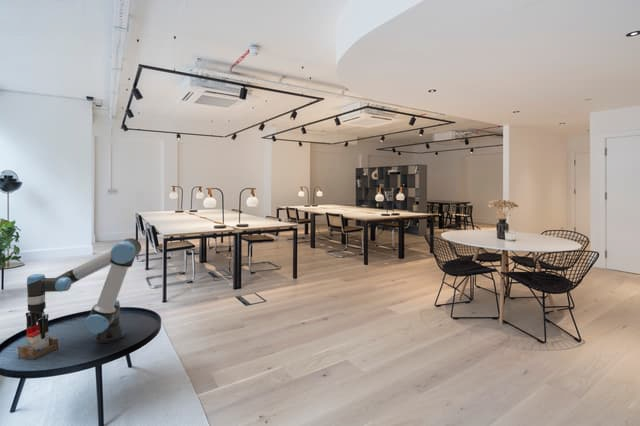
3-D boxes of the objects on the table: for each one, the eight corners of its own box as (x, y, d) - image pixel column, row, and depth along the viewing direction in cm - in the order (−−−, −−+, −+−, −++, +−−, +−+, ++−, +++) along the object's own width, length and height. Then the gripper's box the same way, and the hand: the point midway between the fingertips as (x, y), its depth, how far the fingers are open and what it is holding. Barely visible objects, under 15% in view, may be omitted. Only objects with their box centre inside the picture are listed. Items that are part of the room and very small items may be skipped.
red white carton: (33, 356, 182) (32, 330, 181) (26, 355, 183) (25, 328, 182) (49, 349, 191) (48, 323, 189) (42, 347, 192) (41, 322, 191)
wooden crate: (58, 348, 192) (57, 338, 192) (33, 360, 179) (32, 349, 179) (44, 346, 195) (43, 336, 194) (18, 357, 182) (18, 346, 181)
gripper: (56, 302, 186) (57, 342, 188) (31, 298, 191) (32, 338, 192) (42, 306, 179) (43, 348, 181) (16, 302, 183) (18, 344, 185)
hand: (38, 343), depth 187 cm, fingers closed on red white carton, 5 cm apart
